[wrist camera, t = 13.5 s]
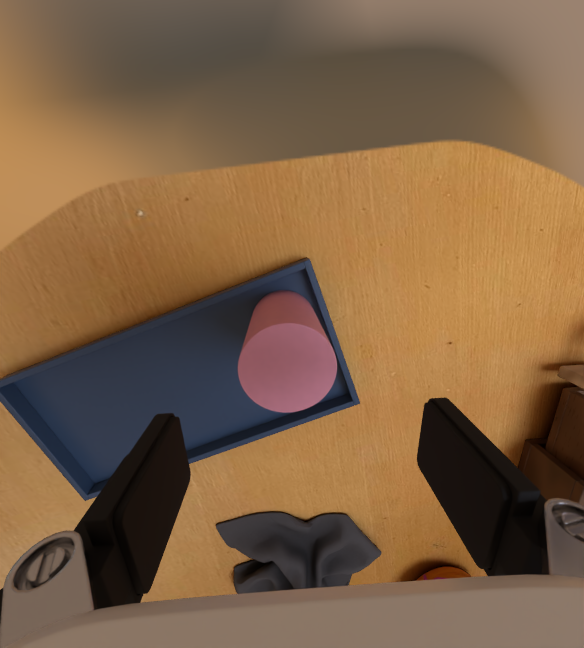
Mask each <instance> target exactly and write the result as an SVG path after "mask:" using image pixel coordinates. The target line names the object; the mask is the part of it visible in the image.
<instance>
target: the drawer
mask: <svg viewBox="0 0 584 648" xmlns="http://www.w3.org/2000/svg"><path fill="white" fill-rule="evenodd" d="M558 376H559V377H561V378H563V379H565V380H567V381H569V382H571V383H573V384H575V385H577V386H579V387H572V388H563V391H562V394H561V398H560V401H559V404H558V408H557V411H556V414H555V417H554V421H553V424H552V427H551V431H550V434H549V437H548V440H547V444H546V447H545V450H546V451H547V452H548V453H550V454H551V455H552V456H554V457H555V458H556V459H557V460H559V461H560V462H561V463H562V464H564V465H565V466H566V467H567V468H569V469H570V470H571V471H572V472H574V473H575V474H576V475H577V476H579V477H580V478H581V479H582V480H583V481H584V365H569V366H560V369H559V373H558Z"/></svg>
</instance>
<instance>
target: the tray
mask: <svg viewBox="0 0 584 648" xmlns="http://www.w3.org/2000/svg"><path fill="white" fill-rule="evenodd" d="M280 290H288V291H293V292H296V293H298V294H300V295H302V296H303V297H304V298H306V300H307V301H308V302H309V303H310V304H311V306H312V308H313V310H314V312H315V314H316V316H317V318H318V320H319V322H320V324H321V326H322V328H323V330H324V332H325V334H326V336H327V338H328V340H329V342H330V344H331V346H332V348H333V350H334V352H335V355H336V360H337V373H336V378H335V381H334V383H333V385H332V387H331V389H330V390H329V392H328V393H327V395H326V396H325V397H324V398H323V399H322V400H320V401H319V402H318V403H316V404H315V405H313V406H311V407H309V408H307V409H304V410H301V411H297V412H287V413H283V412H276V411H271V410H269V409H266V408H264V407H262V406H260V405H258V404H257V403H255V402H254V401H253V400H252V399H251V398H250V397H249V396H248V395H247V394H246V392H245V391H244V389H243V387H242V385H241V383H240V380H239V376H238V361H239V357H240V353H241V350H242V347H243V344H244V340H245V337H246V334H247V331H248V327H249V324H250V321H251V317H252V314H253V311H254V309H255V307H256V305H257V303H258V302H259V301H260V300H261V299H262V298H263V297H264V296H266V295H268V294H269V293H272V292H275V291H280ZM0 402H1V403H2V404H3V405H4V406H5V407H6V409H7V410H8V411H9V412H10V413H11V414H12V416H13V417H14V418H15V419H16V420H17V422H18V423H19V424H20V425H21V426H22V427H23V429H24V430H25V431H26V432H27V433H28V434H29V436H30V437H31V438H32V439H33V440H34V442H35V443H36V444H37V445H38V446H39V447H40V449H41V450H42V451H43V452H44V453H45V454H46V456H47V457H48V458H49V459H50V460H51V461H52V463H53V464H54V465H55V466H56V467H57V469H58V470H59V471H60V472H61V473H62V474H63V476H64V477H65V478H66V479H67V480H68V481H69V483H70V484H71V485H72V486H73V487H74V489H75V490H76V491H77V492H78V493H79V494H80V496H81V497H82V498H83V499H84V500H85V501H86V500H89V499H92V498H94V497H97V496H98V495H99V493H100V492H101V490H102V489H103V488H104V486H105V485H106V483H107V482H108V480H109V479H110V477H111V476H112V475H113V473H114V472H115V470H116V469H117V467H118V466H119V464H120V463H121V462H122V460H123V459H124V458H125V456H126V455H128V454H129V453H130V451H131V450H132V448H133V447H134V446H135V444H136V443H137V441H138V440H139V438H140V437H141V435H142V434H143V432H144V431H145V429H146V428H147V426H148V425H149V424H150V422H151V421H152V419H153V418H154V416H155V415H156V414H163V413H174V415H175V417H179V419H180V423H181V428H182V433H183V438H184V443H185V448H186V453H187V458H188V463H189V464H190V463H193V462H196V461H199V460H202V459H205V458H207V457H210V456H213V455H216V454H219V453H222V452H224V451H227V450H230V449H233V448H236V447H238V446H241V445H244V444H247V443H250V442H253V441H255V440H258V439H261V438H264V437H267V436H270V435H272V434H275V433H278V432H281V431H284V430H287V429H289V428H292V427H295V426H298V425H301V424H304V423H306V422H309V421H312V420H315V419H318V418H320V417H323V416H326V415H329V414H332V413H335V412H337V411H340V410H343V409H346V408H349V407H352V406H354V405H357V404H360V401H359V399H358V396H357V393H356V390H355V387H354V384H353V381H352V379H351V376H350V373H349V370H348V367H347V364H346V361H345V359H344V356H343V353H342V350H341V347H340V344H339V341H338V339H337V336H336V333H335V330H334V327H333V324H332V321H331V319H330V316H329V313H328V310H327V307H326V304H325V301H324V298H323V296H322V293H321V290H320V287H319V284H318V281H317V278H316V276H315V273H314V270H313V267H312V264H311V261H310V259H308V258H304V259H302V260H299V261H297V262H294V263H291V264H289V265H286V266H284V267H281V268H279V269H276V270H274V271H271V272H269V273H266V274H263V275H261V276H258V277H256V278H253V279H251V280H248V281H246V282H243V283H241V284H238V285H235V286H233V287H230V288H228V289H225V290H223V291H220V292H218V293H215V294H213V295H210V296H207V297H205V298H202V299H200V300H197V301H195V302H192V303H190V304H187V305H184V306H182V307H179V308H177V309H174V310H172V311H169V312H167V313H164V314H162V315H159V316H156V317H154V318H151V319H149V320H146V321H144V322H141V323H139V324H136V325H134V326H131V327H128V328H126V329H123V330H121V331H118V332H116V333H113V334H111V335H108V336H106V337H103V338H100V339H98V340H95V341H93V342H90V343H88V344H85V345H83V346H80V347H77V348H75V349H72V350H70V351H67V352H65V353H62V354H60V355H57V356H55V357H52V358H49V359H47V360H44V361H42V362H39V363H37V364H34V365H32V366H29V367H27V368H24V369H21V370H19V371H16V372H14V373H11V374H9V375H7V376H5V377H3V378H1V379H0Z"/></svg>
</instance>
